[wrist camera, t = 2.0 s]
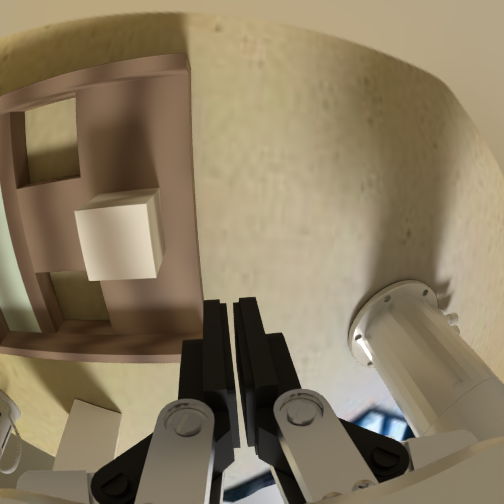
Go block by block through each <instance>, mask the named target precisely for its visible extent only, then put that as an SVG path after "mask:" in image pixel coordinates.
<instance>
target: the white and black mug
mask: <svg viewBox="0 0 504 504" xmlns="http://www.w3.org/2000/svg"><path fill="white" fill-rule="evenodd" d="M20 416H21V413H20V410H19V408H18V407H17V405H16V404H15V403H14V402H13V401H12V400H11V398H9V397H8V396H7V395H6V394H5V393H4V392H2V391H1V390H0V459H1V456H2V454H3V451H4V448H5V446H6V443H7V441H8V438H9V435H10V433H11V431H12V428H13V427H14V430H15V432H16V435H17V445H18V447H17V454H16V458H15V461H14V464H13V465H12V466H11V468H10V469H7V470H2V469H1V467H0V471H1V472H3V473H6V474H8V473H11V472H13V471H14V470H15V469H16V468H17V465H18V463H19V459H20V456H21V438H20V435H19V433H18V431H17V428H16V426H15V425H14V424H15V421H16V420H17V419H19V418H20Z"/></svg>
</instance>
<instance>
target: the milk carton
mask: <svg viewBox="0 0 504 504" xmlns="http://www.w3.org/2000/svg"><path fill="white" fill-rule="evenodd" d="M121 420H122V414H120V413H117V412H114V411H110V410H107V409H104V408H101V407H98V406H95V405H92V404H89V403H86V402H83V401H80V400H77V399H75V400H74V402H73V405H72V408H71V411H70V414H69V417H68V420H67V423H66V426H65V429H64V432H63V435H62V438H61V442H60V445H59V448H58V452H57V455H56V459H55V463H54V466H53V469H52V471H78V470H87V471H88V473H94V472H97V471H98V470H99V469H100V468H101V467H103V466H105V465H106V464H108V463H109V462H111V461H112V460H114V459H115V458H116V452H117V447H118V441H119V434H120V427H121Z"/></svg>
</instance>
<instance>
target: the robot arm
mask: <svg viewBox="0 0 504 504" xmlns="http://www.w3.org/2000/svg"><path fill="white" fill-rule="evenodd" d="M233 313H234V331H235V348H236V364H237V373H238V381H239V388H240V395H241V403H242V410H243V417H244V424H245V431H246V438H247V444H248V447H252V446H255V452H256V455H258V457H259V459H261V460H263V461H264V462H266V463H268V464H270V469H271V471H272V474H273V476H274V479H275V481H276V484H277V486H278V489H279V491H280V494H281V496H282V498H283V501H284V503H285V504H504V384H503V383H502V381H501V380H500V379H499V378H498V377H497V376H496V375H495V373H494V372H493V371H492V370H491V369H490V368H489V367H488V366H487V364H486V363H485V362H484V361H483V360H482V359H481V358H480V357H479V356H478V355H477V353H476V352H475V351H474V350H473V349H472V348H471V347H470V346H469V345H468V344H467V343H466V342H465V341H464V340H463V339H462V338H461V336H460V335H459V333H460V331H459V328H458V326H456V325H453V326H450V325H451V324H454V323H457V322H458V315H457V313H452V314H448V315H446V316H445V315H444V314H443V313H442V312H441V311H440V310H439V309H438V302H437V298H436V295H435V293H434V292H433V291H432V290H431V289H430V288H429V287H428V286H427V285H426V284H424V283H423V282H420V281H417V280H405V281H400V282H397V283H394V284H392V285H390V286H388V287H386V288H384V289H382V290H381V291H380V292H378V293H377V294H375V295H374V296H373V297H372V298H371V299H370V300H369V301H368V302H367V303H366V304H365V305H364V306H363V308H362V309H361V310H360V311H359V313H358V314H357V316H356V318H355V319H354V321H353V324H352V326H351V329H350V333H349V339H348V344H349V349H350V352H351V354H352V355H353V357H354V359H355V360H356V361H357V362H358V363H359V364H361V365H362V366H365V367H368V368H376V370H377V371H378V373H379V375H380V376H381V378H382V380H383V381H384V383H385V385H386V386H387V388H388V390H389V391H390V393H391V395H392V396H393V398H394V400H395V402H396V403H397V405H398V407H399V408H400V410H401V412H402V413H403V415H404V417H405V419H406V420H407V422H408V424H409V426H410V427H411V429H412V431H413V433H414V434H415V436H416V438H411V439H407V441H406V442H402V443H400V442H398V441H396V440H394V439H392V438H389V437H386V436H383V435H381V434H378V433H375V432H373V431H370V430H368V429H365V428H363V427H360V426H358V425H355V424H353V423H350V422H348V421H345V420H343V419H341V418H338V417H337V416H336V414H335V413H334V411H333V409H332V408H331V406H330V405H329V403H328V401H327V400H326V399H325V398H324V397H323V396H322V395H320V394H319V393H317V392H315V391H312V390H309V389H302V388H301V385H300V382H299V380H298V377H297V374H296V371H295V368H294V365H293V362H292V359H291V356H290V353H289V350H288V347H287V344H286V341H285V338H284V336H283V334H282V333H271V334H265V331H264V328H263V324H262V320H261V316H260V312H259V308H258V305H257V301H256V297H246V298H239V302H236V303H233ZM233 448H240V437H239V425H238V413H237V400H236V389H235V379H234V371H233V362H232V353H231V344H230V335H229V326H228V316H227V306H226V303H221V304H220V300H219V299H217V300H204V301H203V339H187V340H183V342H182V352H181V364H180V377H179V392H178V400H176V401H173V402H171V403H169V404H167V405H166V406H165V407H164V408H163V409H162V410H161V412H160V414H159V416H158V418H157V422H156V425H155V429H154V432H153V433H152V434H150V435H149V436H147V437H146V438H145V439H143V440H142V441H140V442H139V443H137V444H136V445H134V446H133V447H132V448H130V449H129V450H127V451H126V452H124V453H123V454H121V455H120V456H118V457H117V458H115V459H114V460H112V461H111V462H109V463H108V464H106V465H105V466H103V467H101V468H100V469H99V470H98V471H97V472H94V473H88V471H87V470H78V471H37V470H36V471H35V470H33V471H27V472H25V473H24V474H22V475H21V476H20V478H19V479H18V483H17V489H0V504H222V501H223V489H224V477H225V471H224V470H225V469H226V468H227V467H228V466H229V465H230V464H231V463H233V462H234V461H235V460H234V449H233Z"/></svg>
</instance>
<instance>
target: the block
mask: <svg viewBox="0 0 504 504" xmlns="http://www.w3.org/2000/svg"><path fill="white" fill-rule="evenodd" d="M74 212H75V218H76V224H77V229H78V234H79V239H80V244H81V249H82V253H83V258H84V262H85V266H86V271H87V275H88V279H89V281H101V280H124V279H145V278H157V275H158V271H159V268H160V265H161V262H162V259H163V257H164V254H165V251H166V244H165V236H164V227H163V218H162V208H161V197H160V188H151V189H140V190H130V191H121V192H112V193H103V194H99V195H97V196H96V197H94V198H93V199H91V200H90V201H88V202H87V203H85V204H84V205H82V206H81V207H80V208H78V209H77V210H75V211H74Z"/></svg>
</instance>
